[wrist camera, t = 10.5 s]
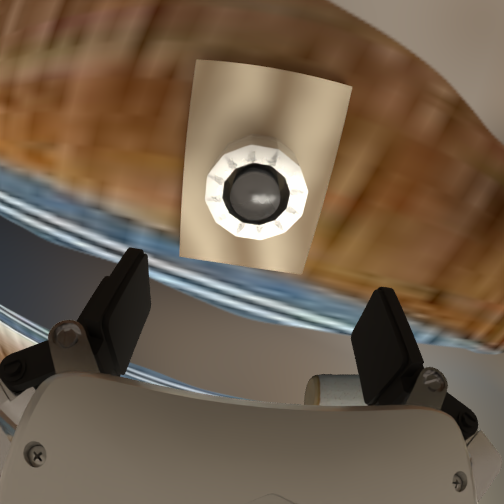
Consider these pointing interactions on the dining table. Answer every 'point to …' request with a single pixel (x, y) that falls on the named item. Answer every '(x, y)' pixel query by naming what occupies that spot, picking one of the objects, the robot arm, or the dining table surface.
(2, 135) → the dining table surface
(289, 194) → the ring
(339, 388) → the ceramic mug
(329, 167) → the block
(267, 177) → the dark domed cylinder
